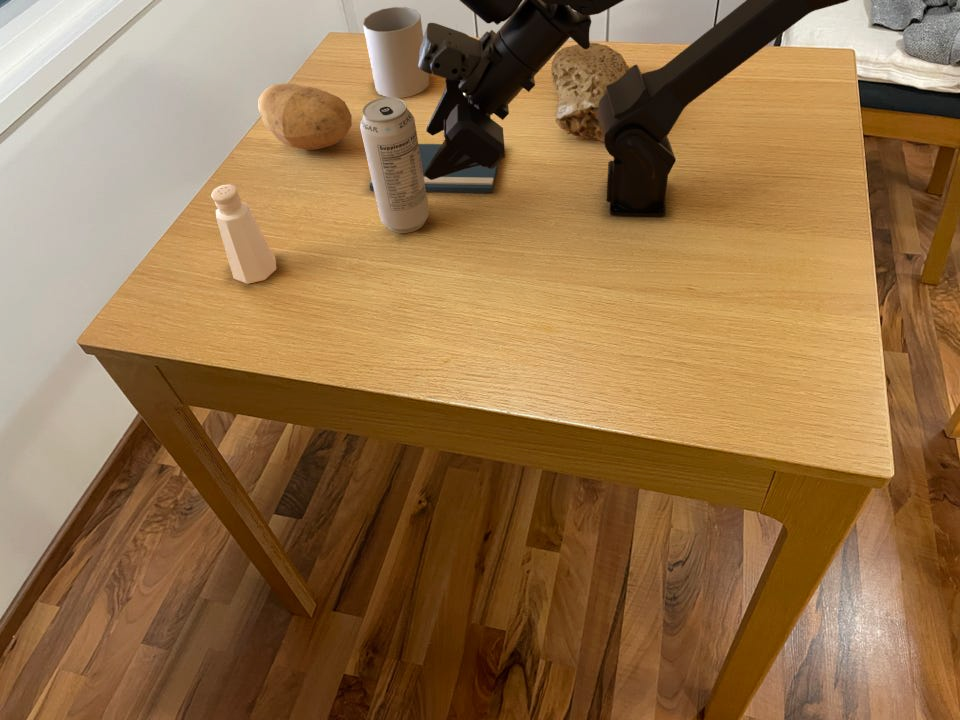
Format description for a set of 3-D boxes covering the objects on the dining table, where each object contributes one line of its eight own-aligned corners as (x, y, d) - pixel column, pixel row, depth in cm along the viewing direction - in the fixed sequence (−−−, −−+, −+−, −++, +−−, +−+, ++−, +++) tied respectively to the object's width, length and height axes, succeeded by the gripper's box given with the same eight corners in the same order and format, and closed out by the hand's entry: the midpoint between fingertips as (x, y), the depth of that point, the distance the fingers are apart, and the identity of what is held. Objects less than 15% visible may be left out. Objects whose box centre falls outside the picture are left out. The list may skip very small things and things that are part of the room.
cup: (427, 96, 112) (417, 29, 105) (373, 99, 113) (360, 34, 106) (430, 69, 118) (421, 4, 111) (379, 73, 119) (367, 9, 111)
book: (502, 149, 101) (502, 142, 100) (492, 193, 94) (491, 185, 93) (388, 148, 103) (386, 141, 103) (370, 190, 97) (368, 183, 96)
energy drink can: (418, 200, 94) (399, 88, 83) (438, 225, 91) (420, 111, 80) (374, 216, 93) (349, 105, 82) (392, 242, 89) (368, 128, 78)
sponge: (631, 154, 100) (649, 55, 109) (621, 107, 93) (642, 7, 103) (537, 160, 105) (562, 66, 114) (522, 117, 98) (550, 21, 108)
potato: (333, 172, 100) (319, 118, 94) (254, 151, 106) (236, 98, 100) (374, 136, 106) (363, 83, 100) (298, 117, 111) (283, 66, 105)
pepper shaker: (224, 268, 88) (190, 190, 80) (265, 248, 90) (236, 170, 82) (243, 291, 85) (210, 212, 77) (286, 269, 87) (257, 190, 79)
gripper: (458, -38, 79) (375, 72, 88) (458, 41, 66) (361, 160, 75) (535, 29, 84) (449, 126, 93) (549, 113, 72) (449, 217, 80)
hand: (428, 154), depth 85 cm, fingers open, 9 cm apart
